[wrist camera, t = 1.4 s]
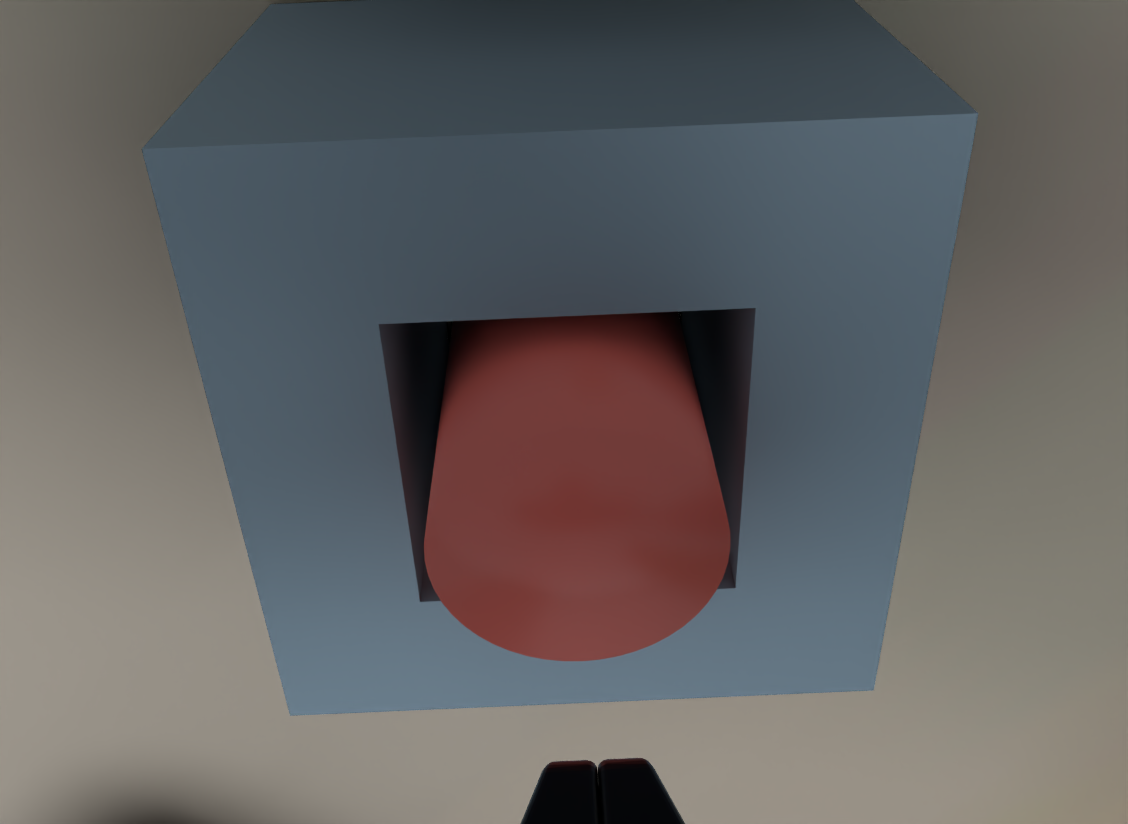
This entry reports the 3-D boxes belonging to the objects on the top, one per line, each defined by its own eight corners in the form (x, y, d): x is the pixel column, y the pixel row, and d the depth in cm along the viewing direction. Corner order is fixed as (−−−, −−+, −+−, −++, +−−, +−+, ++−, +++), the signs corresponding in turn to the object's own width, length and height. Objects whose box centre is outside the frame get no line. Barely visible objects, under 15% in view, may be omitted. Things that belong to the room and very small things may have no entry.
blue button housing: (831, -21, 15) (978, 113, 10) (786, 439, 20) (873, 690, 15) (270, 3, 15) (142, 149, 10) (352, 458, 20) (290, 715, 15)
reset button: (679, 214, 14) (739, 420, 10) (673, 411, 16) (722, 654, 12) (442, 224, 14) (407, 433, 10) (464, 420, 16) (439, 667, 12)
